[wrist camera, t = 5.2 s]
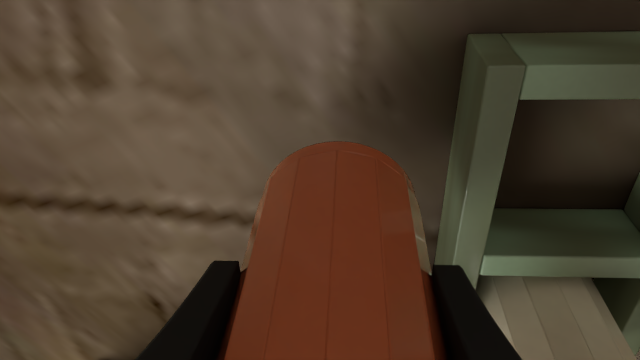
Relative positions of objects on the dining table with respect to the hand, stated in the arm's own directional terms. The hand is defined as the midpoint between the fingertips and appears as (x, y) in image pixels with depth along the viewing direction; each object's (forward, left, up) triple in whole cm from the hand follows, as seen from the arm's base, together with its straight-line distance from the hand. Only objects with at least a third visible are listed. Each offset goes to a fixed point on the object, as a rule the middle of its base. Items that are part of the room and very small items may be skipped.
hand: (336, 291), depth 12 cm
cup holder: (+8, -3, -7) cm, 11 cm away
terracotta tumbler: (0, 0, -3) cm, 3 cm away
